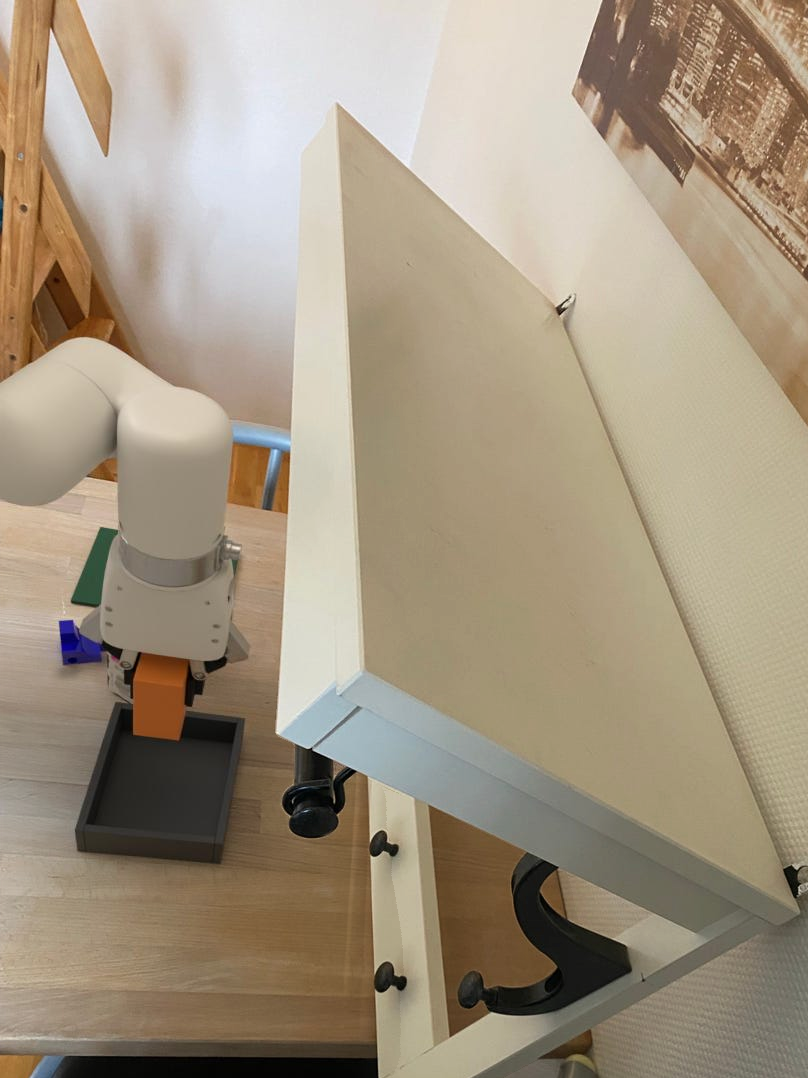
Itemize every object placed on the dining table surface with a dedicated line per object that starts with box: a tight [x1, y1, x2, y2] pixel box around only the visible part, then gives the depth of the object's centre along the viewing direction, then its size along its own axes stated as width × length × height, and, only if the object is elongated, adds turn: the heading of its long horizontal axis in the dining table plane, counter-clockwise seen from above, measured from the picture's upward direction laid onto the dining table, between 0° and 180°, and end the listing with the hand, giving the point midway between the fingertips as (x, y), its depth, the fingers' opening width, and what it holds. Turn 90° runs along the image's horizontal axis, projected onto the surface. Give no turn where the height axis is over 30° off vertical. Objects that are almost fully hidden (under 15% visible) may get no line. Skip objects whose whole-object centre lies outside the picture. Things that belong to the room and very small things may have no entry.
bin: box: [74, 701, 246, 865], centre depth 88 cm, size 14×16×4 cm
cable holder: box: [58, 619, 107, 666], centre depth 98 cm, size 8×4×4 cm, turn 111°
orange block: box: [133, 652, 190, 740], centre depth 77 cm, size 4×7×8 cm, turn 3°
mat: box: [70, 526, 239, 608], centre depth 110 cm, size 18×14×1 cm
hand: (164, 689), depth 78 cm, fingers closed on orange block, 4 cm apart
